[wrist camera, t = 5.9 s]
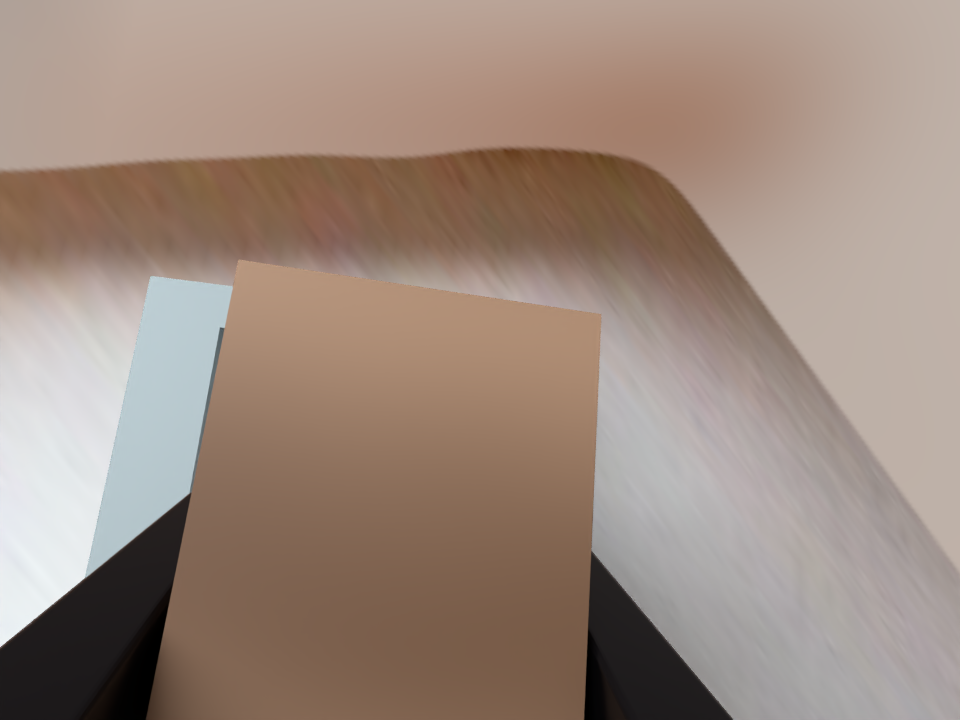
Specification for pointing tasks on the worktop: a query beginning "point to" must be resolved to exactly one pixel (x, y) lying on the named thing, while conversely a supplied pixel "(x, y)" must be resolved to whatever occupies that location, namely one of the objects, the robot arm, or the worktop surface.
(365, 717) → the brown rectangular block
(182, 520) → the robot arm
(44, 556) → the worktop surface
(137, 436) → the light blue tray
